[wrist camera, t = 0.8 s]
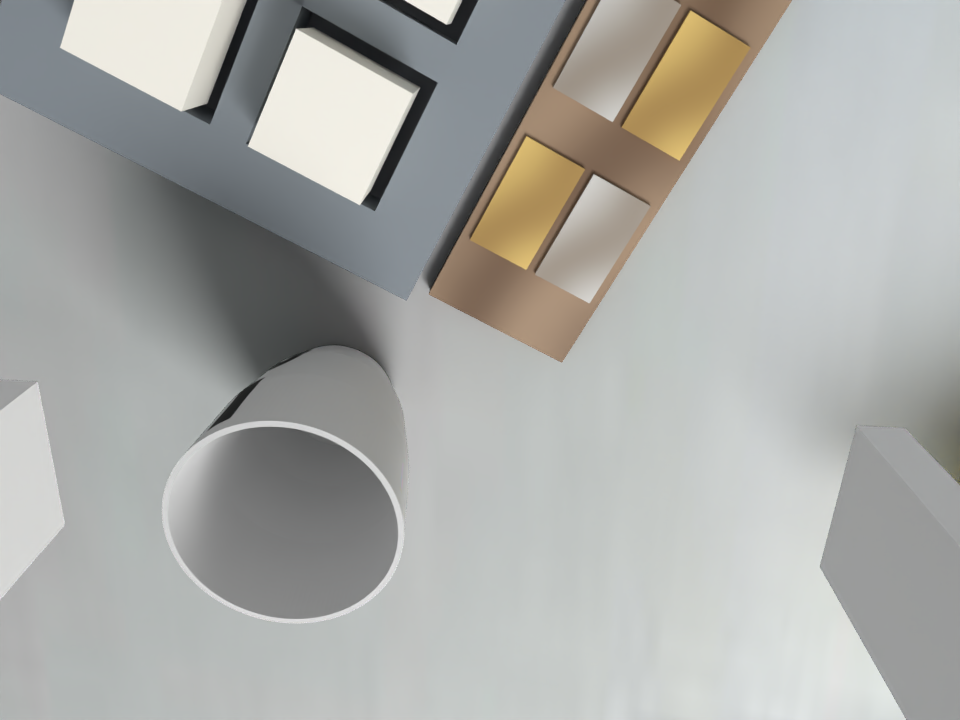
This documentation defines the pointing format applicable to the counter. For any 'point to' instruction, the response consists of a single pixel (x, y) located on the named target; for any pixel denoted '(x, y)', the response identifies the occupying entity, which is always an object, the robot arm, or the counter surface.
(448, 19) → the button
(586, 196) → the card
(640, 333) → the counter surface
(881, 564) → the robot arm
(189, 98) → the button
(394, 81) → the button
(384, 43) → the button board
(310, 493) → the cup
